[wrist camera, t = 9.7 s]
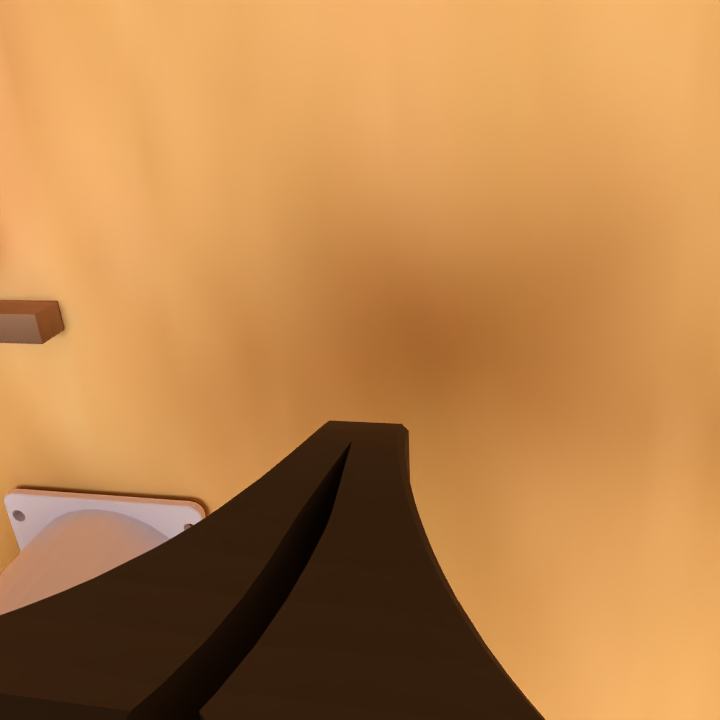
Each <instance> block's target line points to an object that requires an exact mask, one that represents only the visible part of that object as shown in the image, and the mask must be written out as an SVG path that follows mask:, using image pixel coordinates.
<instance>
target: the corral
mask: <svg viewBox="0 0 720 720" xmlns="http://www.w3.org/2000/svg"><path fill="white" fill-rule="evenodd" d="M63 330H64V327H63V323H62V319H61V315H60V312H59V308H58V304H57V301H0V343H25V344H43V343H45V342H46V341H48V340H49V339H51V338H52V337H54V336H55V335H57V334H58V333H60V332H61V331H63Z"/></svg>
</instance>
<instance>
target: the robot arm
mask: <svg viewBox="0 0 720 720" xmlns="http://www.w3.org/2000/svg"><path fill="white" fill-rule="evenodd" d="M4 503H5V506H6V509H7V512H8V515H9V518H10V521H11V524H12V527H13V530H14V533H15V536H16V539H17V542H18V545H19V548H20V551H21V553H20V554H19V555H18V556H17V557H16V558H15V559H14V560H13V561H12V562H11V563H10V564H9V565H8V567H7V568H6V569H5V570H4V571H3V572H2V573H1V574H0V720H545V719H544V717H543V716H542V715H541V714H540V713H539V712H538V711H537V709H536V708H535V707H534V706H533V705H532V704H531V702H530V701H529V700H528V699H527V698H526V696H525V695H524V694H523V693H522V691H521V690H520V689H519V688H518V686H517V685H516V684H515V683H514V682H513V680H512V679H511V678H510V677H509V675H508V674H507V673H506V671H505V670H504V669H503V667H502V666H501V664H500V663H499V662H498V660H497V659H496V658H495V656H494V655H493V654H492V652H491V651H490V649H489V648H488V647H487V645H486V644H485V642H484V641H483V639H482V638H481V636H480V635H479V633H478V631H477V630H476V628H475V627H474V625H473V623H472V622H471V620H470V619H469V617H468V616H467V614H466V612H465V611H464V609H463V608H462V606H461V605H460V603H459V601H458V600H457V598H456V596H455V594H454V592H453V591H452V589H451V587H450V585H449V583H448V581H447V579H446V577H445V576H444V574H443V572H442V569H441V567H440V565H439V563H438V561H437V559H436V557H435V555H434V552H433V550H432V548H431V545H430V543H429V541H428V538H427V536H426V533H425V530H424V528H423V525H422V522H421V519H420V516H419V514H418V510H417V507H416V504H415V501H414V497H413V493H412V489H411V485H410V470H409V432H408V430H407V429H406V428H405V427H404V426H403V425H402V424H390V423H368V422H347V421H328V422H327V423H326V424H324V425H323V426H322V427H321V428H320V429H318V430H317V431H316V432H315V433H314V434H313V435H311V436H310V437H309V438H308V439H307V440H306V441H304V442H303V443H302V444H301V445H300V446H299V447H297V448H296V449H295V450H294V451H293V452H292V453H290V454H289V455H288V456H287V457H286V458H284V459H283V460H282V461H281V462H280V463H278V464H277V465H276V466H275V467H273V468H272V469H271V470H270V471H269V472H267V473H266V474H265V475H264V476H262V477H261V478H260V479H259V480H257V481H256V482H254V483H253V484H252V485H250V486H249V487H248V488H246V489H245V490H244V491H242V492H241V493H239V494H238V495H237V496H235V497H234V498H233V499H231V500H230V501H229V502H227V503H226V504H224V505H223V506H222V507H220V508H219V509H218V510H216V511H215V512H213V513H212V514H210V515H209V516H207V517H206V516H205V512H204V509H203V508H202V507H201V506H200V505H199V504H197V503H196V502H192V501H182V500H168V499H154V498H141V497H127V496H113V495H99V494H85V493H71V492H57V491H43V490H29V489H13V490H12V491H10V492H9V493H8V494H7V495H6V496H5V498H4ZM189 524H193V526H190V525H189Z"/></svg>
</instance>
